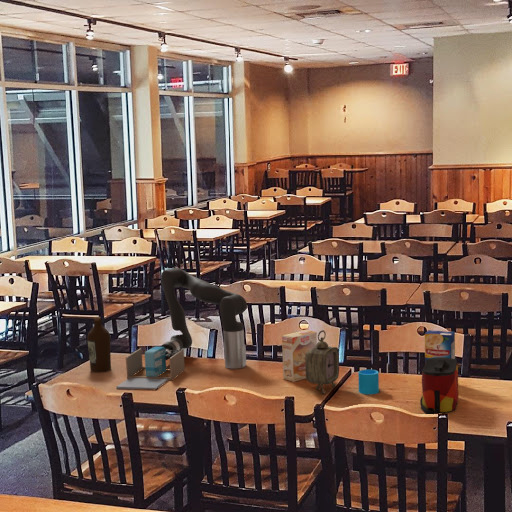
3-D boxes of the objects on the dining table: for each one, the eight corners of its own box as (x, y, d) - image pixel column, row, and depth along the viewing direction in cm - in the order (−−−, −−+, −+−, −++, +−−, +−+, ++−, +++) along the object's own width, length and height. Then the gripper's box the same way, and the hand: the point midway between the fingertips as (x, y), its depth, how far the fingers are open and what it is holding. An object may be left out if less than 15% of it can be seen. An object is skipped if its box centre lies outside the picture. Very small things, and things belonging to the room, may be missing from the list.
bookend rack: (184, 370, 400) (183, 349, 399) (171, 380, 383) (170, 358, 382) (141, 369, 405) (140, 348, 404) (127, 379, 389) (125, 357, 387)
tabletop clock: (325, 395, 351) (323, 335, 347) (304, 393, 355) (302, 333, 352) (339, 386, 363) (338, 327, 360) (320, 384, 368) (318, 326, 364)
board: (167, 381, 382) (167, 379, 382) (156, 390, 369) (155, 387, 369) (129, 380, 387) (129, 377, 387) (116, 388, 373) (116, 386, 373)
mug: (377, 394, 349) (377, 374, 348) (357, 394, 351) (357, 374, 350) (380, 386, 361) (380, 367, 360) (361, 386, 363) (360, 366, 362)
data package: (154, 378, 388) (153, 352, 386) (145, 378, 389) (144, 351, 388) (166, 371, 399) (165, 346, 397) (157, 371, 401) (156, 345, 399)
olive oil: (106, 365, 415) (102, 314, 412) (116, 369, 406) (112, 317, 403) (85, 369, 409) (82, 317, 406) (95, 373, 400) (91, 320, 397)
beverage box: (451, 388, 354) (451, 335, 352) (425, 385, 359) (424, 333, 356) (455, 383, 360) (455, 331, 358) (429, 381, 365) (428, 330, 362)
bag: (454, 417, 317) (454, 373, 315) (416, 415, 321) (415, 372, 319) (460, 394, 346) (459, 353, 344) (425, 392, 350) (424, 352, 348)
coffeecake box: (294, 382, 373) (292, 337, 371) (282, 379, 378) (281, 335, 376) (318, 375, 383) (317, 331, 380) (307, 372, 388) (305, 329, 386)
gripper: (155, 341, 413) (142, 349, 397) (183, 341, 409) (171, 350, 393) (155, 356, 414) (143, 365, 398) (184, 357, 410) (172, 366, 394)
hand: (157, 357), depth 396 cm, fingers open, 8 cm apart
